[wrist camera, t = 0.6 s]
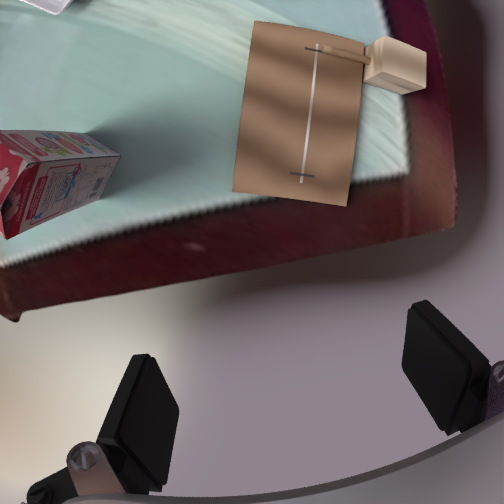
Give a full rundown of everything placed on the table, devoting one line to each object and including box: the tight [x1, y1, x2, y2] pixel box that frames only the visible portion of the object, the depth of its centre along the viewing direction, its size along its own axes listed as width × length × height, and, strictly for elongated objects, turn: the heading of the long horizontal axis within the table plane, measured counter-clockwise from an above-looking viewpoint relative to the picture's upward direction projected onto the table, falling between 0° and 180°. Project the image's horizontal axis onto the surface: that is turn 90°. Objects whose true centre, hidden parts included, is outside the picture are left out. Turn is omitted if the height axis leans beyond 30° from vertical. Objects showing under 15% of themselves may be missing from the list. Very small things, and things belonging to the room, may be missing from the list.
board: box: [232, 21, 364, 206], centre depth 32 cm, size 22×14×1 cm, turn 173°
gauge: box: [322, 35, 426, 95], centre depth 27 cm, size 5×12×6 cm, turn 83°
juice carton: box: [0, 130, 121, 240], centre depth 23 cm, size 7×7×22 cm
